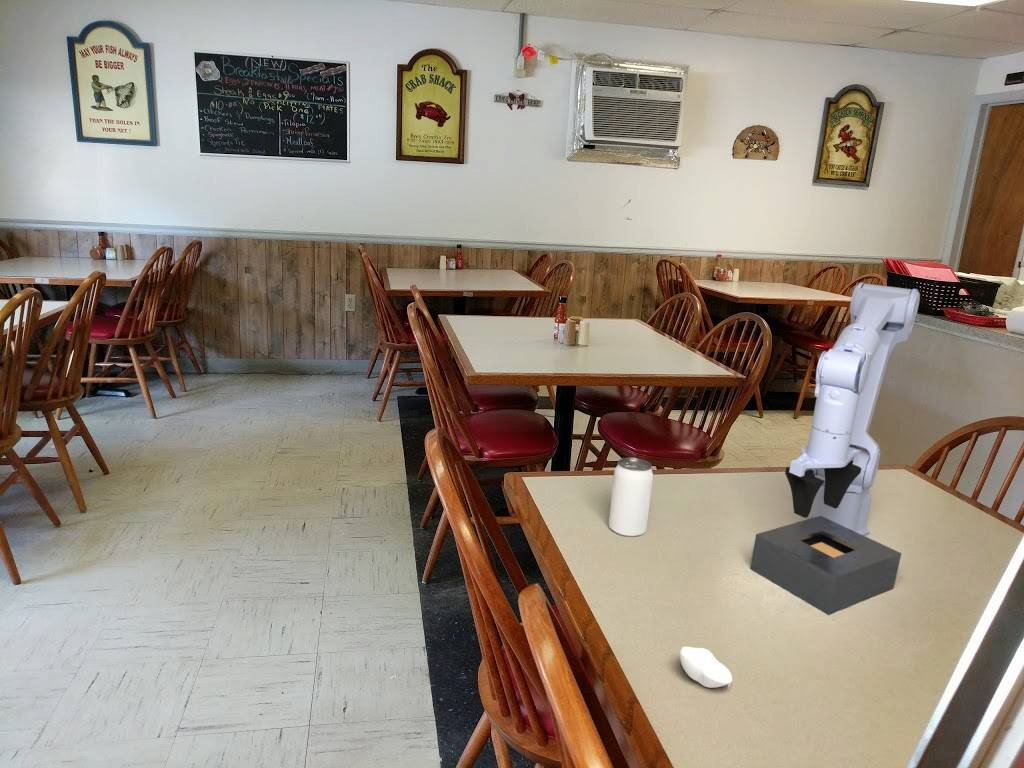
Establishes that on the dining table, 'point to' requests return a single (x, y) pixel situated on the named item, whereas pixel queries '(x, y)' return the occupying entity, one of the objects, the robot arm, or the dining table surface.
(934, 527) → the dining table surface
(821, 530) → the grey box with hole
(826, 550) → the block
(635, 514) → the can
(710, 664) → the dumpling
